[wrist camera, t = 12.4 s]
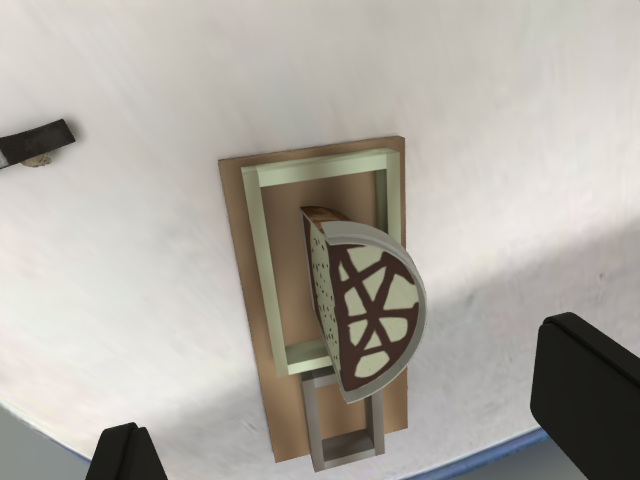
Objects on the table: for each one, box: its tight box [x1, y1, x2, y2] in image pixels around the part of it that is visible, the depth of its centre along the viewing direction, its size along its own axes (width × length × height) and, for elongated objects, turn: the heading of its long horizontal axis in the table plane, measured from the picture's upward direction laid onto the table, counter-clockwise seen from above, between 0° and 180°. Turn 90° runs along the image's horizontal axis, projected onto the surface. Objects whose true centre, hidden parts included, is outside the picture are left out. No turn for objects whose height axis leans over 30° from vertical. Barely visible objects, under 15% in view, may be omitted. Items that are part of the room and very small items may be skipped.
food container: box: [299, 206, 427, 404], centre depth 29 cm, size 12×6×10 cm, turn 6°
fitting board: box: [218, 136, 408, 472], centre depth 35 cm, size 14×30×4 cm, turn 5°
